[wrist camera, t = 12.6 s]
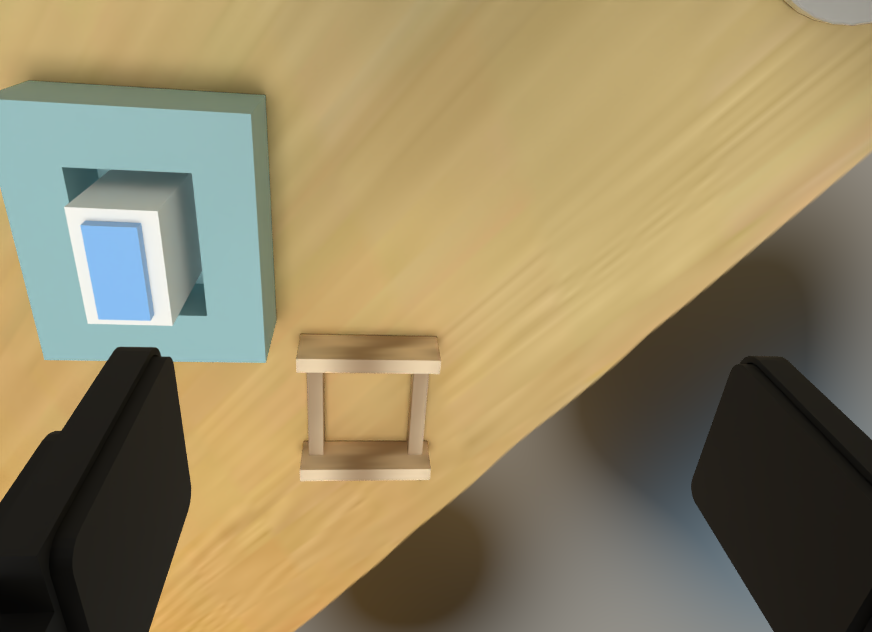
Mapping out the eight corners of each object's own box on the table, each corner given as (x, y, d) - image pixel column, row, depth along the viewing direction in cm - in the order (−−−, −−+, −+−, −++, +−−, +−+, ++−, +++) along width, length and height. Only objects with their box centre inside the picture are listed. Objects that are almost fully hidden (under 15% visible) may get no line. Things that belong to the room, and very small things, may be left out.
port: (265, 94, 35) (250, 113, 30) (276, 323, 41) (266, 365, 37) (28, 80, 33) (-23, 98, 29) (80, 319, 40) (45, 363, 36)
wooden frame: (436, 336, 43) (441, 360, 40) (426, 451, 48) (429, 479, 45) (300, 334, 42) (296, 358, 39) (303, 451, 47) (300, 481, 44)
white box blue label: (193, 168, 35) (153, 215, 28) (203, 267, 38) (169, 332, 31) (117, 164, 35) (58, 211, 28) (133, 265, 37) (82, 330, 31)
